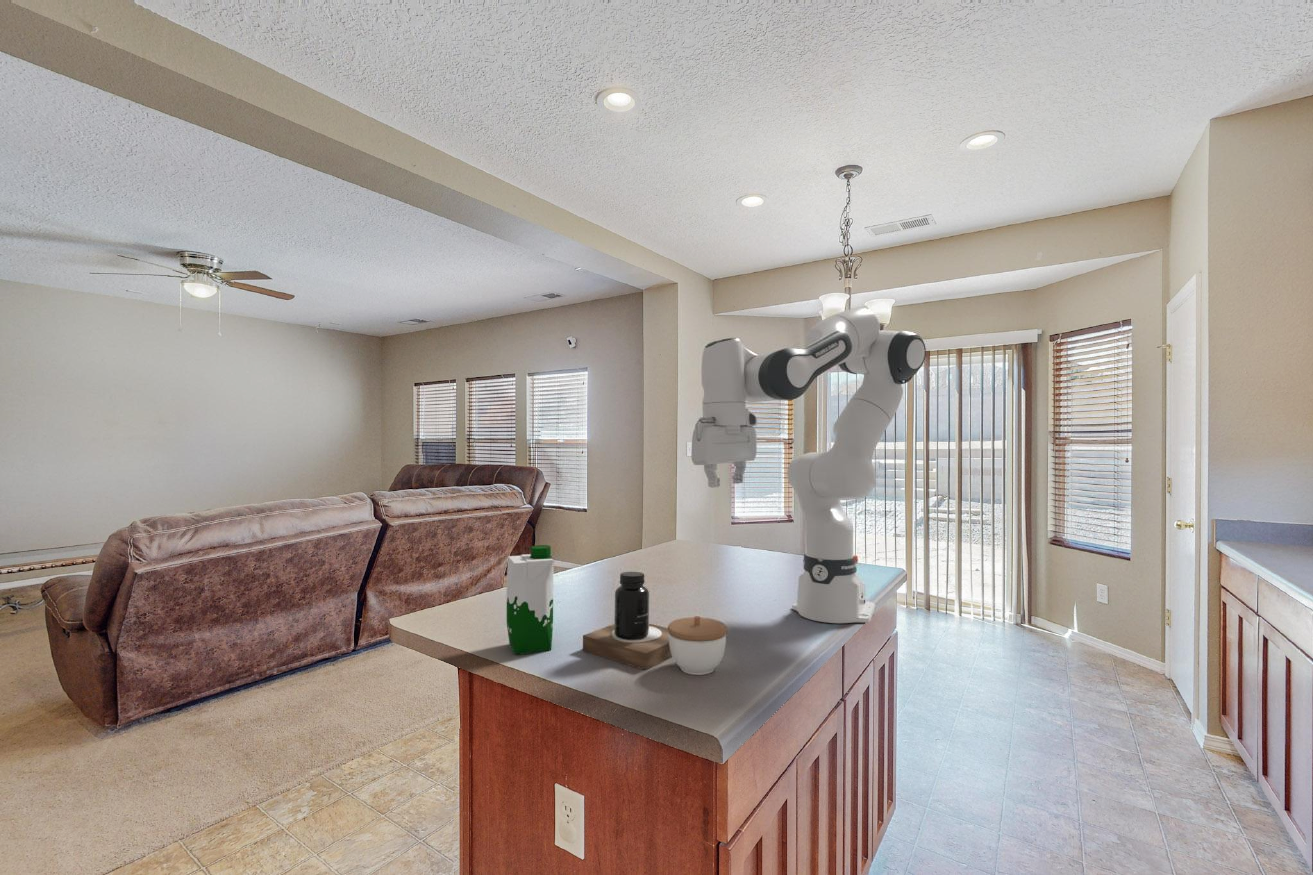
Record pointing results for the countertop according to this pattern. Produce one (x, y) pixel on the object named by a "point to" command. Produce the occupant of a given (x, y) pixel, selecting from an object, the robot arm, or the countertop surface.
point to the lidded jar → (697, 644)
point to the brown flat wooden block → (630, 646)
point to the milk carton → (530, 600)
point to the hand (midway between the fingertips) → (726, 485)
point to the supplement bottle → (631, 607)
